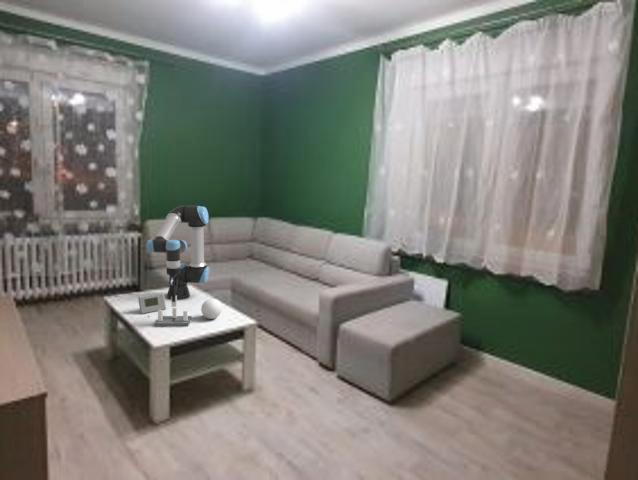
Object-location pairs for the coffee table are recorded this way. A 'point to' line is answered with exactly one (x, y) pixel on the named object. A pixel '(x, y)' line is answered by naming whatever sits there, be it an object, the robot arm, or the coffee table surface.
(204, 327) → the coffee table surface
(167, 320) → the board
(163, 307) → the digital clock
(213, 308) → the decorative ball
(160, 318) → the breaker
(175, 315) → the breaker
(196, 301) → the coffee table surface
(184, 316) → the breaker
